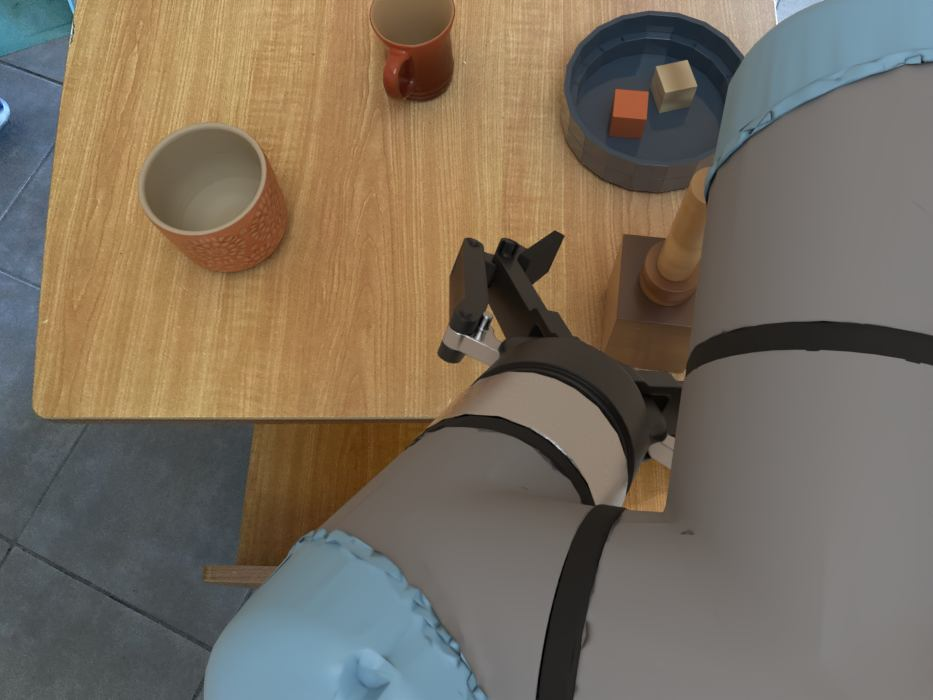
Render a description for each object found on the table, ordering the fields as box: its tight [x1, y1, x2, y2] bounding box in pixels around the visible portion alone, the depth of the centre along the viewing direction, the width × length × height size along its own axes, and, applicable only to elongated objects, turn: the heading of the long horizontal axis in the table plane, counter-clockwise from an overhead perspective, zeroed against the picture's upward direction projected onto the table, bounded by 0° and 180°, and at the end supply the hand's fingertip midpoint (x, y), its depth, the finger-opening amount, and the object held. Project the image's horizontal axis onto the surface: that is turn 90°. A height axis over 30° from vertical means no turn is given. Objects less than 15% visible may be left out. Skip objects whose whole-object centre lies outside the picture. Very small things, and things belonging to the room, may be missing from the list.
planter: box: [137, 121, 288, 273], centre depth 76 cm, size 12×12×11 cm
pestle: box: [639, 167, 710, 306], centre depth 58 cm, size 5×5×15 cm
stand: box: [600, 233, 697, 374], centre depth 70 cm, size 8×8×12 cm
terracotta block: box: [609, 89, 649, 139], centre depth 82 cm, size 4×4×4 cm
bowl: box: [560, 10, 745, 194], centre depth 81 cm, size 19×19×6 cm
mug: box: [368, 0, 456, 102], centre depth 82 cm, size 12×9×10 cm
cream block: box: [650, 60, 697, 113], centre depth 82 cm, size 4×4×4 cm
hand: (646, 300), depth 48 cm, fingers open, 13 cm apart
